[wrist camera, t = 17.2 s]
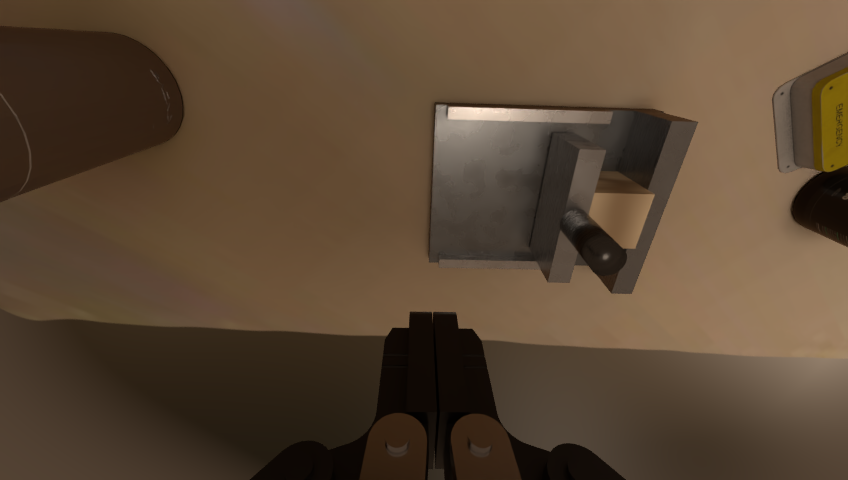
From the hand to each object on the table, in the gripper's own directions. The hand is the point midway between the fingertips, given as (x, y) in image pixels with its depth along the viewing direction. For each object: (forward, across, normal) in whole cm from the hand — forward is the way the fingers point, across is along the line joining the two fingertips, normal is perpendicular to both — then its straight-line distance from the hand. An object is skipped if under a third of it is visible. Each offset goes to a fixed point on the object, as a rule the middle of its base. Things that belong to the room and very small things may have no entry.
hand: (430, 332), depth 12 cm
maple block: (+24, -16, +4) cm, 29 cm away
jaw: (+23, -12, +4) cm, 27 cm away
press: (+25, -11, +4) cm, 28 cm away
